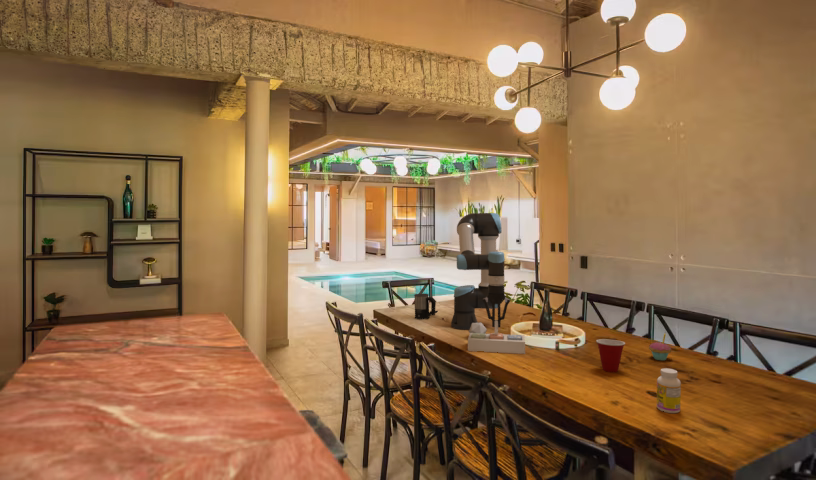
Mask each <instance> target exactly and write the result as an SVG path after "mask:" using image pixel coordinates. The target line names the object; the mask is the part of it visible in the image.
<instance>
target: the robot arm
mask: <svg viewBox="0 0 816 480" xmlns="http://www.w3.org/2000/svg"><path fill="white" fill-rule="evenodd" d="M456 232H457V233H456V234H457V235H458V241H459V242H458V243H459V254H457V255H456V269H458V270H462V271H472V270H473V271H474V270H480V282H479V283H478V287H475V285H474V284H473V285H471V284H467V285H466V284H465V285H460V286H457V287H455V288H454V289H453V294H454V295H453V298H454V299H453V306H454V307H453V310H454V311H453V312H454V313H453V315H452V318H451V322H450V327H451V328H452V329H456V330H464V331H465V330H467V331H469V330H470V327H471V325H472V323H479V322H478V319H477V317H476V312H475V310H476V309H478V310H479V309H485V310H486V314H487V318H488V320H491V326H492V328H494V333H495V335H498V333H499V328H501V321H502V320H503V321H504V320H505V317H506V314H507V310H508V305H509V304H510V302H511V300H510V298H507V297H506V295H505V260H506V258H505V253H504V252H503V251H497V240H498V238H499V237H500V234H502V220H501V217H500V215H499V214H498V213H495V212H485V213H484V212H478V213H477V212H471V213H468V214H466V215H463V217H462V218H461V219H460V220H459V221H458V223H457V224H456ZM474 234H475V235H476V234H477V238H478V239H479V240H480V254H476V252H475V243H474V242H475V241H474ZM503 302H504V307H503V312H502V314H501V304H502V303H503ZM496 309H497V319H496Z"/></svg>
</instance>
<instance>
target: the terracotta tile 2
mask: <svg viewBox="0 0 816 480" xmlns="http://www.w3.org/2000/svg"><path fill="white" fill-rule="evenodd" d="M489 334H490V339H502V340H503V334H504V333H501V332H498V335H495V332H490V333H489Z"/></svg>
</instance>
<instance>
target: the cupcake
mask: <svg viewBox="0 0 816 480" xmlns="http://www.w3.org/2000/svg"><path fill="white" fill-rule="evenodd" d="M665 340H666V331H665V332H664V334H663V337H662V342H661V341H660V342H652V343H650V345H648V350H649V351H650V352H651V354H652V357H653V359H655V360H657V361H666V360H667V359H668V356H669V354H670V353H671V352H672V347H671V346H670V345H668V344H667V343H665Z"/></svg>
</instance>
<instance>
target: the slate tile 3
mask: <svg viewBox="0 0 816 480" xmlns="http://www.w3.org/2000/svg"><path fill="white" fill-rule="evenodd" d="M507 335H508V340H522V338H521V335H522V334H507Z"/></svg>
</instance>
